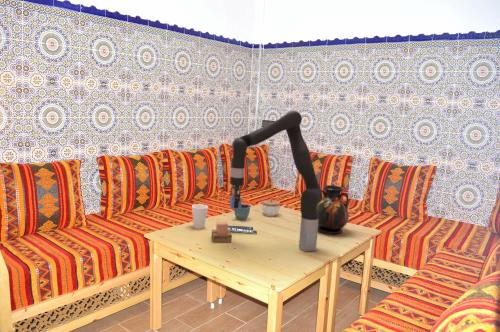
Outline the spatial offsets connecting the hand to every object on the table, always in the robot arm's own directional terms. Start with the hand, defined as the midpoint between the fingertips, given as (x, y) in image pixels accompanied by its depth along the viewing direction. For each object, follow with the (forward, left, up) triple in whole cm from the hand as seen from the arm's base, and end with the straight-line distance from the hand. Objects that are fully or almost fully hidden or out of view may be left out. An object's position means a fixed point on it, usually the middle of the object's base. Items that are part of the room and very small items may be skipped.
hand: (235, 206), depth 213 cm
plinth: (+4, +6, -20) cm, 22 cm away
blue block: (0, 0, -1) cm, 1 cm away
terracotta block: (+4, +6, -16) cm, 18 cm away
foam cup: (+26, +17, -20) cm, 37 cm away
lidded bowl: (+52, -34, -20) cm, 65 cm away
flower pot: (+42, -12, -20) cm, 48 cm away
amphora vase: (+16, -63, -20) cm, 68 cm away
